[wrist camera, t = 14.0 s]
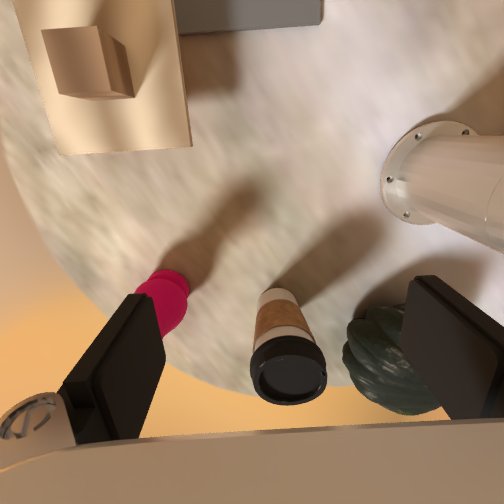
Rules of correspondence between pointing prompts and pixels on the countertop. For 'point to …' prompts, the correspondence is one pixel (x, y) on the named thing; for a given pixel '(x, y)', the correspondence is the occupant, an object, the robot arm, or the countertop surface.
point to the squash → (385, 363)
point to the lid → (108, 73)
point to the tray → (244, 15)
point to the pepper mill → (167, 298)
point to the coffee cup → (285, 352)
